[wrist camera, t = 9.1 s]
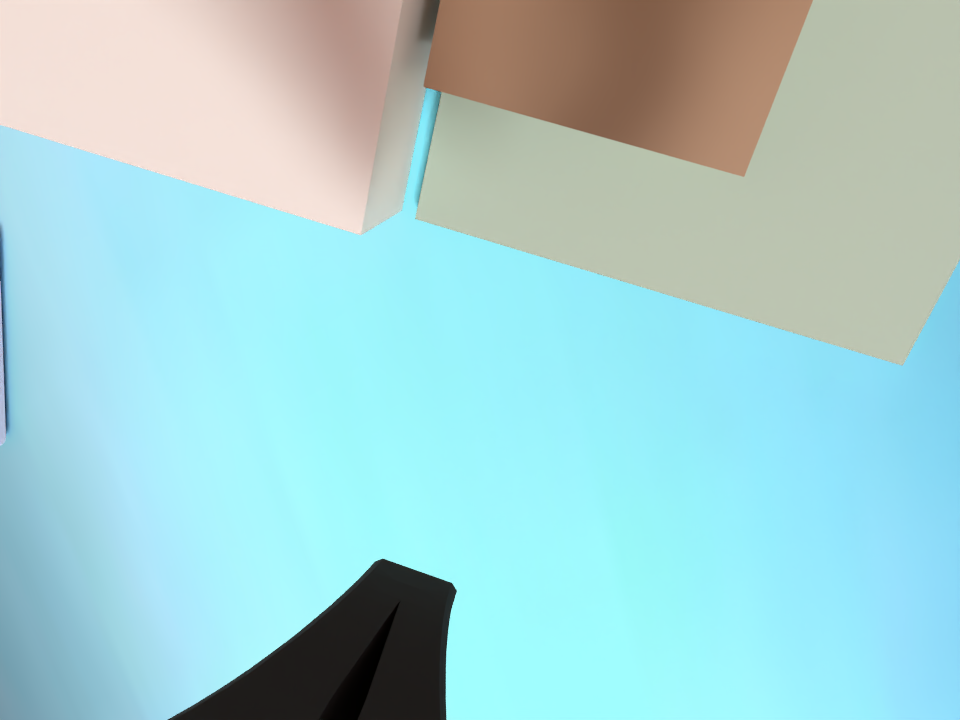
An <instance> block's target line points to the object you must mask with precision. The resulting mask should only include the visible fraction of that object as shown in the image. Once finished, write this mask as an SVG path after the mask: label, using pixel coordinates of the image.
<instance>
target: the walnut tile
mask: <svg viewBox="0 0 960 720" xmlns="http://www.w3.org/2000/svg"><path fill="white" fill-rule="evenodd" d="M812 2H813V0H440V4H439V9H438V14H437V19H436V24H435V29H434V34H433V39H432V44H431V49H430V55H429V60H428V65H427V70H426V75H425V80H424V85H423V87H426V88H430V89H433V90H437V91H440V92H444V93H447V94H451V95H454V96H458V97H462V98H465V99H469V100H472V101H476V102H479V103H483V104H486V105H490V106H493V107H497V108H501V109H504V110H508V111H511V112H515V113H518V114H522V115H525V116H529V117H533V118H536V119H540V120H543V121H547V122H550V123H554V124H557V125H561V126H565V127H568V128H572V129H575V130H579V131H582V132H586V133H589V134H593V135H596V136H600V137H604V138H607V139H611V140H614V141H618V142H621V143H625V144H628V145H632V146H636V147H639V148H643V149H646V150H650V151H653V152H657V153H660V154H664V155H668V156H671V157H675V158H678V159H682V160H685V161H689V162H692V163H696V164H699V165H703V166H707V167H710V168H714V169H717V170H721V171H724V172H728V173H731V174H735V175H739V176H742V177H744V176H745V173H746V171H747V168H748V166H749V163H750V161H751V158H752V156H753V153H754V150H755V148H756V145H757V143H758V140H759V138H760V135H761V132H762V130H763V127H764V125H765V122H766V120H767V117H768V115H769V112H770V109H771V107H772V104H773V102H774V99H775V97H776V94H777V91H778V89H779V86H780V84H781V81H782V79H783V76H784V74H785V71H786V68H787V66H788V63H789V61H790V58H791V56H792V53H793V51H794V48H795V45H796V43H797V40H798V38H799V35H800V33H801V30H802V27H803V25H804V22H805V20H806V17H807V15H808V12H809V10H810V7H811V4H812Z"/></svg>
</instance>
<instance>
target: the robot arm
mask: <svg viewBox="0 0 960 720" xmlns="http://www.w3.org/2000/svg"><path fill="white" fill-rule="evenodd" d="M5 439H6V425H5V396H4V368H3V340H2V311H1V283H0V445H2V444H3V443H4V442H5ZM456 592H457V591H456V589H455V587H454V586H453V584H452V583H450V582H447V581H444V580H442V579H439V578H436V577H433V576H430V575H427V574H425V573H422V572H419V571H416V570H413V569H410V568H408V567H405V566H402V565H399V564H396V563H393V562H391V561H388V560H385V559H381V560H378V561H376V562H374V563H373V565H372V566H371V567H370V568H369V569H368V570H367V571H366V572H365V573H364V574H363V575H362V576H361V577H360V578H359V579H358V580H357V581H356V582H355V583H354V584H353V585H352V586H351V587H350V588H349V589H348V590H347V591H346V592H345V593H344V594H343V595H342V596H341V597H339V598H338V599H337V600H336V601H335V602H334V603H333V604H332V605H331V606H329V607H328V608H327V609H326V610H325V611H324V612H322V613H321V614H320V615H319V616H318V617H316V618H315V619H314V620H313V621H312V622H310V623H309V624H308V625H307V626H306V627H304V628H303V629H302V630H301V631H300V632H298V633H297V634H296V635H295V636H293V637H292V638H291V639H290V640H288V641H287V642H286V643H284V644H283V645H282V646H280V647H279V648H277V649H276V650H275V651H273V652H272V653H271V654H269V655H268V656H267V657H265V658H264V659H263V660H261V661H260V662H259V663H257V664H256V665H254V666H253V667H252V668H250V669H249V670H247V671H246V672H244V673H243V674H241V675H240V676H239V677H237V678H236V679H234V680H233V681H231V682H230V683H228V684H227V685H225V686H223V687H222V688H220V689H219V690H217V691H216V692H214V693H212V694H211V695H209V696H207V697H206V698H204V699H203V700H201V701H199V702H198V703H196V704H194V705H193V706H191V707H189V708H188V709H186V710H184V711H182V712H181V713H179V714H177V715H175V716H173V717H172V718H170V719H168V720H446V648H447V636H448V626H449V619H450V613H451V608H452V605H453V602H454V598H455V595H456Z"/></svg>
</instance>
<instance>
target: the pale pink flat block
mask: <svg viewBox="0 0 960 720" xmlns="http://www.w3.org/2000/svg"><path fill="white" fill-rule="evenodd" d="M439 4H440V0H0V125H3V126H6V127H9V128H13V129H16V130H19V131H22V132H26V133H29V134H32V135H35V136H39V137H42V138H45V139H49V140H52V141H55V142H58V143H62V144H65V145H68V146H71V147H75V148H78V149H81V150H84V151H88V152H91V153H94V154H98V155H101V156H104V157H107V158H111V159H114V160H117V161H120V162H124V163H127V164H130V165H133V166H137V167H140V168H143V169H147V170H150V171H153V172H156V173H160V174H163V175H166V176H169V177H173V178H176V179H179V180H182V181H186V182H189V183H192V184H196V185H199V186H202V187H205V188H209V189H212V190H215V191H218V192H222V193H225V194H228V195H231V196H235V197H238V198H241V199H245V200H248V201H251V202H254V203H258V204H261V205H264V206H267V207H271V208H274V209H277V210H280V211H284V212H287V213H290V214H294V215H297V216H300V217H303V218H307V219H310V220H313V221H316V222H320V223H323V224H326V225H329V226H333V227H336V228H339V229H343V230H346V231H349V232H352V233H356V234H359V235H362V234H364V233H365V232H367V231H369V230H370V229H372V228H374V227H375V226H377V225H379V224H380V223H382V222H384V221H385V220H387V219H389V218H390V217H392V216H394V215H395V214H397V213H399V212H400V211H402V208H403V203H404V198H405V193H406V187H407V182H408V177H409V172H410V167H411V162H412V157H413V152H414V147H415V142H416V137H417V132H418V127H419V122H420V117H421V112H422V107H423V102H424V97H425V92H426V87H423V85H424V80H425V75H426V70H427V65H428V60H429V55H430V49H431V44H432V39H433V34H434V29H435V24H436V19H437V14H438V9H439Z"/></svg>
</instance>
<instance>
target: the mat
mask: <svg viewBox="0 0 960 720" xmlns="http://www.w3.org/2000/svg"><path fill="white" fill-rule="evenodd" d="M415 219H418V220H421V221H424V222H428V223H431V224H434V225H438V226H441V227H444V228H447V229H451V230H454V231H457V232H461V233H464V234H467V235H471V236H474V237H477V238H481V239H484V240H487V241H491V242H494V243H497V244H501V245H504V246H507V247H511V248H514V249H517V250H520V251H524V252H527V253H530V254H534V255H537V256H540V257H544V258H547V259H550V260H554V261H557V262H560V263H564V264H567V265H570V266H574V267H577V268H580V269H584V270H587V271H590V272H594V273H597V274H600V275H603V276H607V277H610V278H613V279H617V280H620V281H623V282H627V283H630V284H633V285H637V286H640V287H643V288H647V289H650V290H653V291H657V292H660V293H663V294H667V295H670V296H673V297H677V298H680V299H683V300H686V301H690V302H693V303H696V304H700V305H703V306H706V307H710V308H713V309H716V310H720V311H723V312H726V313H730V314H733V315H736V316H740V317H743V318H746V319H750V320H753V321H756V322H759V323H763V324H766V325H769V326H773V327H776V328H779V329H783V330H786V331H789V332H793V333H796V334H799V335H803V336H806V337H809V338H813V339H816V340H819V341H823V342H826V343H829V344H833V345H836V346H839V347H842V348H846V349H849V350H852V351H856V352H859V353H862V354H866V355H869V356H872V357H876V358H879V359H882V360H886V361H889V362H892V363H896V364H899V365H902V366H903V364H904V362H905V360H906V358H907V356H908V355H909V353H910V351H911V349H912V347H913V345H914V343H915V342H916V340H917V338H918V336H919V334H920V332H921V330H922V329H923V327H924V325H925V323H926V321H927V319H928V317H929V316H930V314H931V312H932V310H933V308H934V306H935V304H936V303H937V301H938V299H939V297H940V295H941V293H942V291H943V290H944V288H945V286H946V284H947V282H948V280H949V278H950V277H951V275H952V273H953V271H954V269H955V267H956V265H957V264H958V262H959V260H960V0H813V2H812V4H811V7H810V10H809V12H808V15H807V17H806V20H805V22H804V25H803V27H802V30H801V33H800V35H799V38H798V40H797V43H796V45H795V48H794V51H793V53H792V56H791V58H790V61H789V63H788V66H787V68H786V71H785V74H784V76H783V79H782V81H781V84H780V86H779V89H778V91H777V94H776V97H775V99H774V102H773V104H772V107H771V109H770V112H769V115H768V117H767V120H766V122H765V125H764V127H763V130H762V132H761V135H760V138H759V140H758V143H757V145H756V148H755V150H754V153H753V156H752V158H751V161H750V163H749V166H748V168H747V171H746V173H745V176H744V177H742V176H739V175H735V174H731V173H728V172H724V171H721V170H717V169H714V168H710V167H707V166H703V165H699V164H696V163H692V162H689V161H685V160H682V159H678V158H675V157H671V156H668V155H664V154H660V153H657V152H653V151H650V150H646V149H643V148H639V147H636V146H632V145H628V144H625V143H621V142H618V141H614V140H611V139H607V138H604V137H600V136H596V135H593V134H589V133H586V132H582V131H579V130H575V129H572V128H568V127H565V126H561V125H557V124H554V123H550V122H547V121H543V120H540V119H536V118H533V117H529V116H525V115H522V114H518V113H515V112H511V111H508V110H504V109H501V108H497V107H493V106H490V105H486V104H483V103H479V102H476V101H472V100H469V99H465V98H462V97H458V96H454V95H451V94H447V93H444V92H442V93H441V97H440V102H439V107H438V112H437V117H436V121H435V126H434V131H433V136H432V141H431V145H430V150H429V155H428V160H427V165H426V170H425V174H424V179H423V184H422V189H421V194H420V198H419V203H418V208H417V213H416V218H415Z"/></svg>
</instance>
